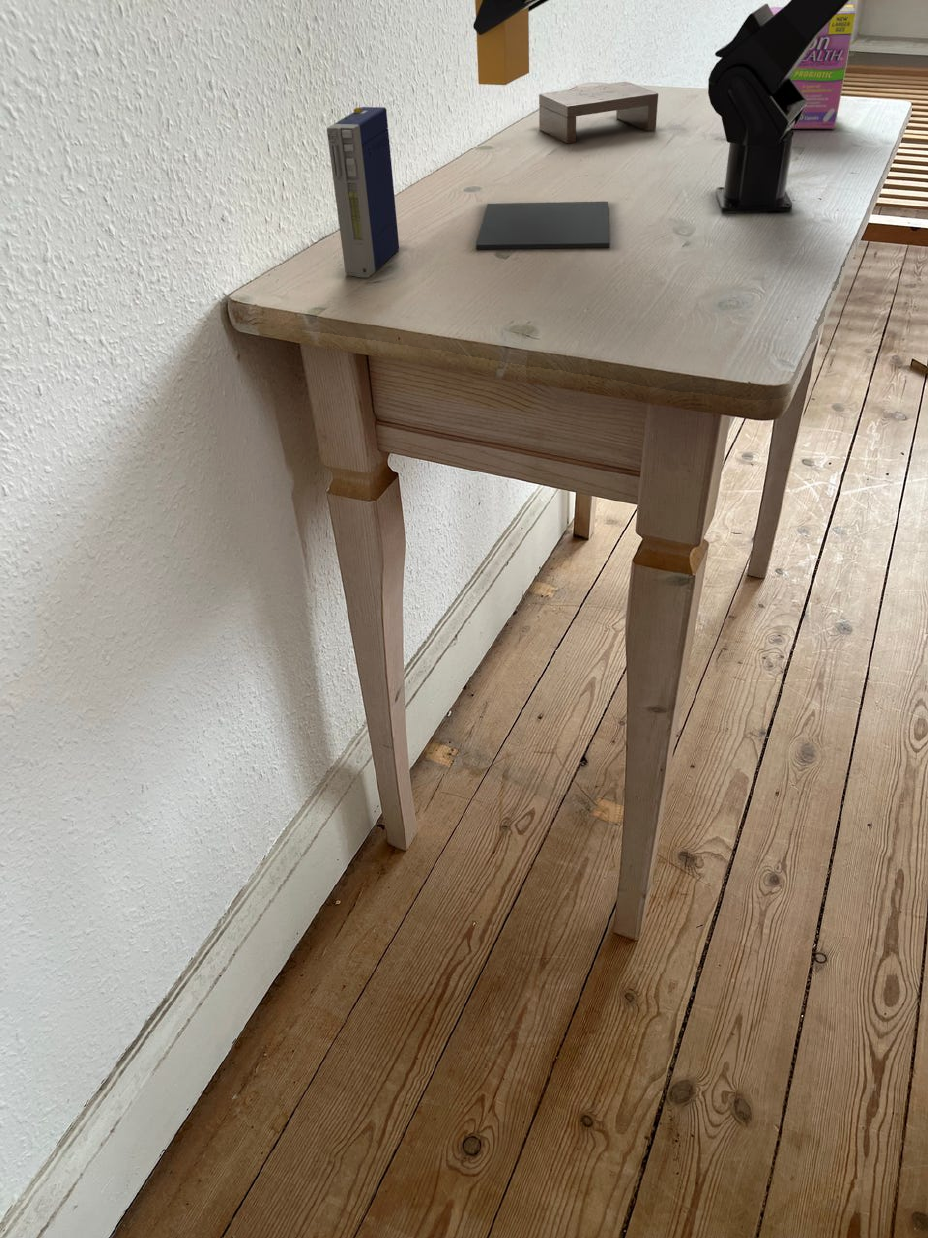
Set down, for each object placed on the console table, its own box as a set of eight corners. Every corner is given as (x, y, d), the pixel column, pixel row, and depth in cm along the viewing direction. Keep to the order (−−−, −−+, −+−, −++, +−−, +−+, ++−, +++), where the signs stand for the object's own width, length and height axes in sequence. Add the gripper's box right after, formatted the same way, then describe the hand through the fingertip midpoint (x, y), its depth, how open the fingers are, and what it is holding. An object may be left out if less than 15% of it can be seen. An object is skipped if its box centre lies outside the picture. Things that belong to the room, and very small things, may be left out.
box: (743, 129, 112) (758, 13, 104) (744, 118, 116) (759, 5, 109) (835, 130, 110) (857, 11, 102) (832, 118, 114) (853, 3, 106)
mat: (609, 247, 84) (609, 242, 84) (476, 249, 85) (476, 244, 85) (607, 205, 93) (607, 201, 93) (487, 207, 94) (487, 203, 94)
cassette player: (376, 247, 87) (361, 102, 79) (400, 248, 86) (386, 103, 79) (344, 276, 82) (324, 124, 74) (369, 278, 81) (351, 125, 73)
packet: (529, 72, 96) (528, -47, 90) (505, 85, 92) (502, -39, 86) (502, 71, 97) (499, -46, 91) (478, 84, 93) (473, -38, 87)
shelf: (655, 129, 114) (658, 92, 112) (566, 143, 111) (567, 106, 109) (624, 116, 120) (626, 81, 117) (538, 129, 117) (539, 93, 115)
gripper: (578, -206, 86) (475, -56, 97) (494, -204, 73) (387, -32, 84) (655, -101, 88) (546, 34, 99) (587, -82, 75) (470, 70, 87)
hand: (490, 25), depth 92 cm, fingers closed on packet, 6 cm apart
